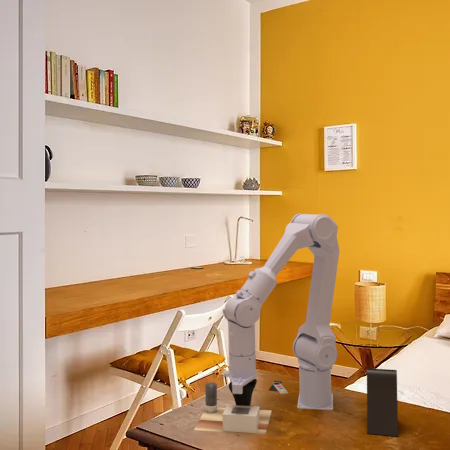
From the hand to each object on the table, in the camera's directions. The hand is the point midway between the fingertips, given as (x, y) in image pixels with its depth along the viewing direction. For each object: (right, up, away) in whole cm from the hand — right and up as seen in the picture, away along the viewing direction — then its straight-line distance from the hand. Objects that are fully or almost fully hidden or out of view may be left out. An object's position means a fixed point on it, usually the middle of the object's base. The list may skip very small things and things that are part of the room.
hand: (243, 414), depth 115 cm
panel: (-2, -2, 0) cm, 3 cm away
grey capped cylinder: (-7, -1, +5) cm, 9 cm away
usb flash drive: (+10, -1, +18) cm, 20 cm away
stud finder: (-1, -1, -4) cm, 4 cm away
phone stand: (+29, -1, -4) cm, 29 cm away
